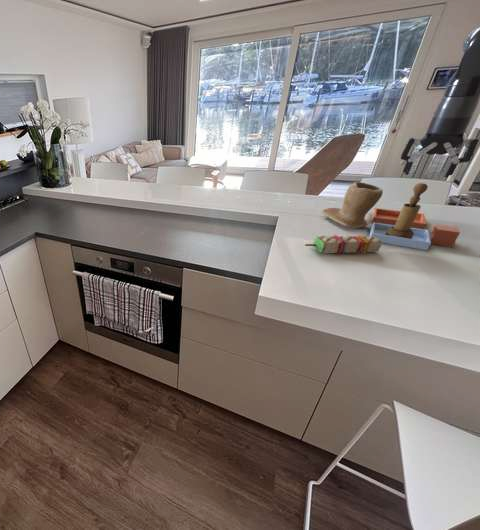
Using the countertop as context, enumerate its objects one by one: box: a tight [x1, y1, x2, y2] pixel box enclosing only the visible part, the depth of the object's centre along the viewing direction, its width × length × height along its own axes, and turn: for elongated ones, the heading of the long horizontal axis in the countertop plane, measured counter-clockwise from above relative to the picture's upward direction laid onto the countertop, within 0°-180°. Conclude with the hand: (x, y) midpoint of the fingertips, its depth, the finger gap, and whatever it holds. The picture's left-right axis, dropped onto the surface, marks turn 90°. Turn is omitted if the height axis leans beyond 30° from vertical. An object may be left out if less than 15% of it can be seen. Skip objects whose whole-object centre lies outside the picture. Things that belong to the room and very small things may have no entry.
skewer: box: [304, 234, 383, 254], centre depth 91 cm, size 21×6×5 cm, turn 84°
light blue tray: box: [369, 222, 432, 251], centre depth 96 cm, size 14×11×3 cm
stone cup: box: [321, 181, 384, 229], centre depth 107 cm, size 15×12×15 cm
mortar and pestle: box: [385, 182, 428, 239], centre depth 91 cm, size 7×6×18 cm
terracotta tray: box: [371, 207, 427, 230], centre depth 107 cm, size 14×11×3 cm
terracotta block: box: [429, 223, 461, 248], centre depth 91 cm, size 5×5×5 cm
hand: (425, 175), depth 86 cm, fingers open, 8 cm apart
